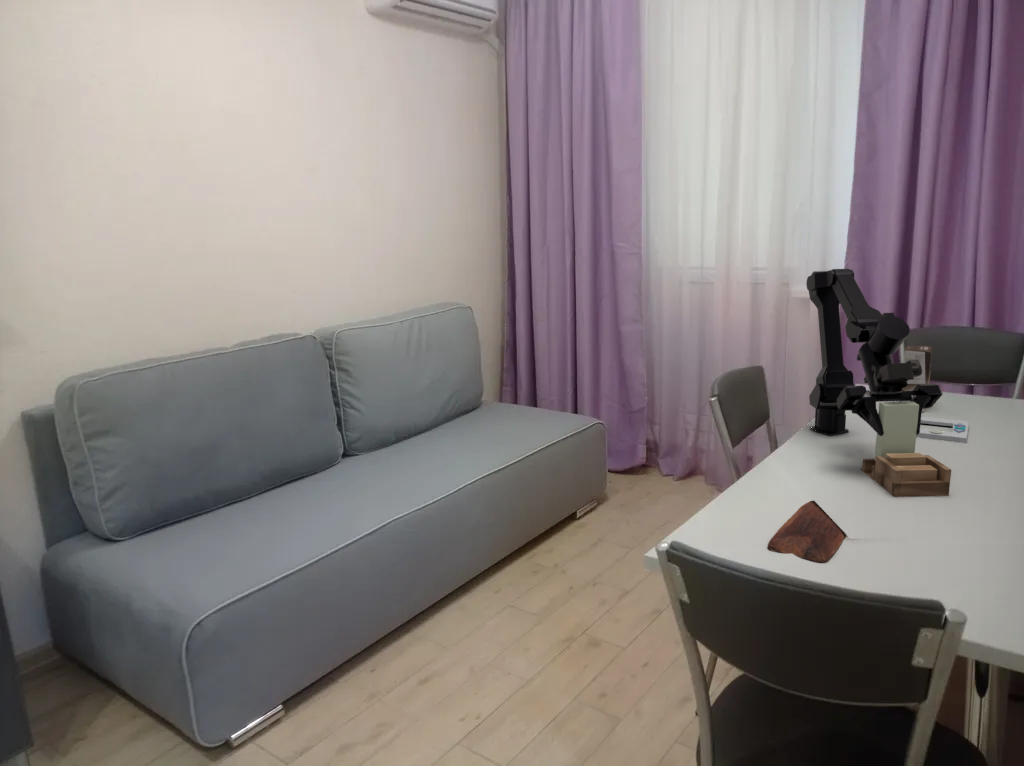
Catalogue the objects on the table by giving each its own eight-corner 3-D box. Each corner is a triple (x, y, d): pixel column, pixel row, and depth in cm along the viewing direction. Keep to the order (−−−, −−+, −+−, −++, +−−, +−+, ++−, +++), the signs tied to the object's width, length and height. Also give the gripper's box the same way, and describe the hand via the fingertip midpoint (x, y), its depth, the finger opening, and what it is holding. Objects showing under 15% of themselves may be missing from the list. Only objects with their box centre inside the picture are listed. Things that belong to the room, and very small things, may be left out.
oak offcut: (883, 480, 146) (885, 453, 145) (916, 479, 146) (919, 452, 145) (889, 484, 144) (891, 457, 143) (923, 484, 144) (926, 457, 142)
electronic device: (969, 419, 181) (966, 436, 169) (968, 428, 182) (965, 445, 170) (886, 411, 191) (878, 426, 179) (885, 419, 192) (877, 435, 179)
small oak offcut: (893, 488, 142) (895, 466, 141) (928, 487, 142) (930, 465, 141) (899, 493, 140) (901, 470, 139) (935, 492, 140) (937, 469, 139)
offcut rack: (859, 473, 153) (861, 445, 152) (909, 472, 153) (911, 444, 151) (894, 501, 138) (896, 471, 137) (948, 500, 138) (952, 470, 137)
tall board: (874, 460, 150) (879, 402, 147) (907, 459, 150) (912, 401, 147) (880, 464, 148) (885, 405, 145) (913, 463, 147) (919, 404, 145)
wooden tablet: (808, 492, 142) (864, 497, 136) (809, 503, 142) (865, 508, 136) (762, 545, 121) (827, 553, 115) (763, 558, 122) (828, 566, 116)
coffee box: (925, 412, 194) (931, 351, 190) (898, 410, 197) (903, 350, 194) (928, 404, 202) (933, 345, 198) (901, 401, 205) (906, 344, 201)
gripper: (846, 346, 147) (866, 415, 139) (942, 344, 147) (968, 413, 139) (828, 376, 157) (846, 442, 149) (918, 374, 156) (941, 440, 148)
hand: (899, 434), depth 146 cm, fingers closed on tall board, 6 cm apart
